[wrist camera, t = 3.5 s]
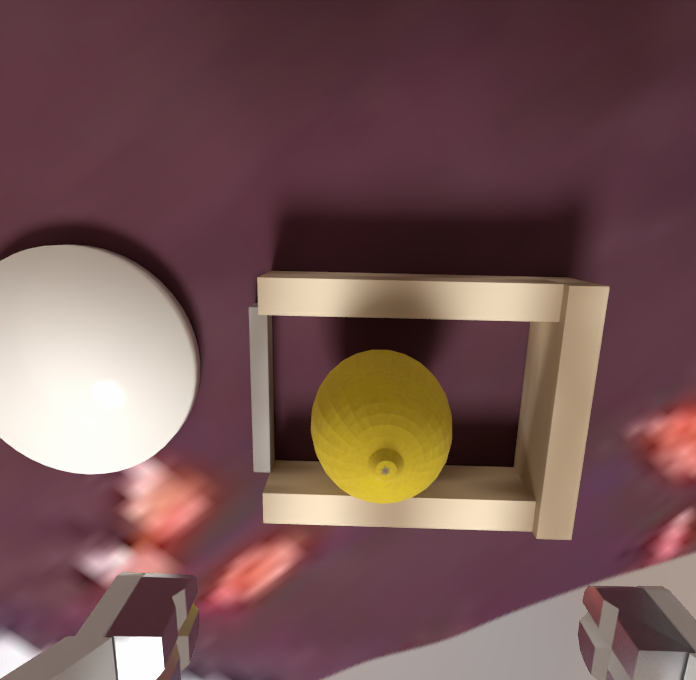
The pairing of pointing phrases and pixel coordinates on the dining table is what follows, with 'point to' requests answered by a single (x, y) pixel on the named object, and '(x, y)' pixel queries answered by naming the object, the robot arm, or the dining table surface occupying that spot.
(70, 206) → the dining table surface
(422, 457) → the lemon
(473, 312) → the wooden rectangular frame
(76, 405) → the saucer
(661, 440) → the dining table surface
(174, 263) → the dining table surface
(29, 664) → the robot arm
